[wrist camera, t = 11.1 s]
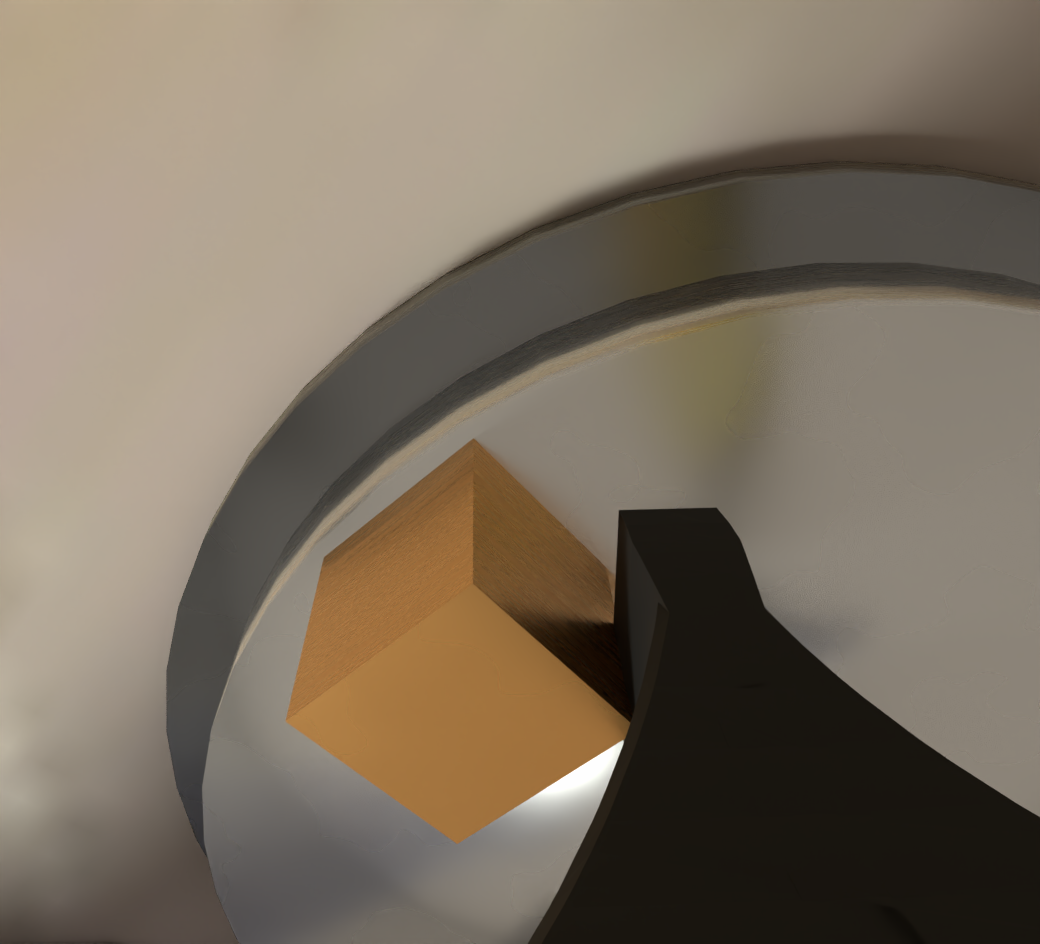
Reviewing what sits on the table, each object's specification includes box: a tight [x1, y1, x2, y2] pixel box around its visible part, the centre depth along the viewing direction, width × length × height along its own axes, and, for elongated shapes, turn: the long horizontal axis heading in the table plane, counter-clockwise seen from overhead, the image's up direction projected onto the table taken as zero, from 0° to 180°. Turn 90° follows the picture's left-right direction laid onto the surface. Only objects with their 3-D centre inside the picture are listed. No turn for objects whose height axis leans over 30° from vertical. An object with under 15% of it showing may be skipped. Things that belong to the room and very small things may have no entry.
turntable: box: [202, 262, 1040, 944], centre depth 15 cm, size 18×18×4 cm
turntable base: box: [167, 162, 1040, 858], centre depth 17 cm, size 20×20×1 cm
